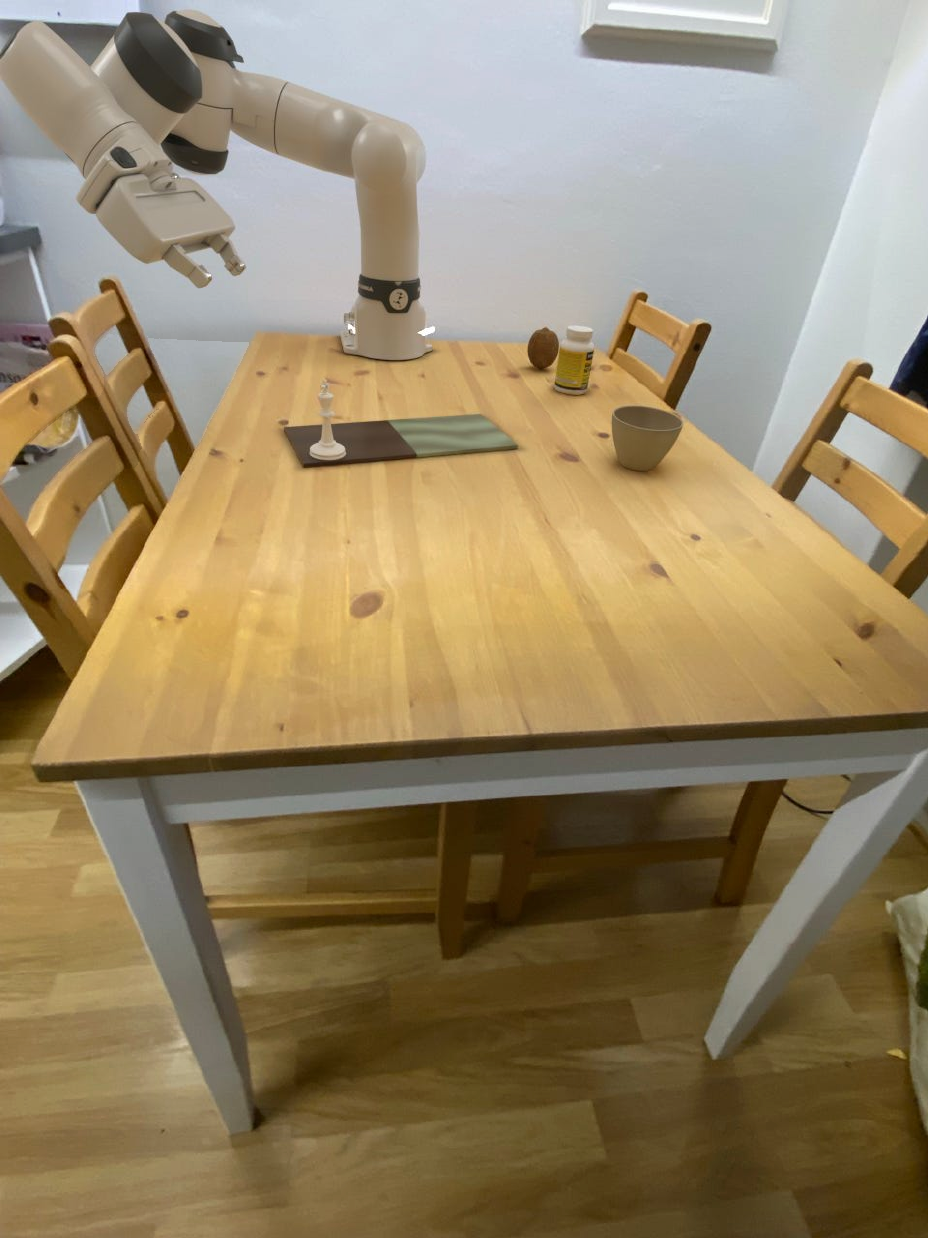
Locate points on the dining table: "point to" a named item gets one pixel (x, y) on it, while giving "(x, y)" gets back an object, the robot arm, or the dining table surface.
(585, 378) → the pill bottle
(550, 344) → the fruit
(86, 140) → the robot arm
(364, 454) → the mat
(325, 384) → the chess piece
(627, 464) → the flower pot
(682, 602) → the dining table surface
